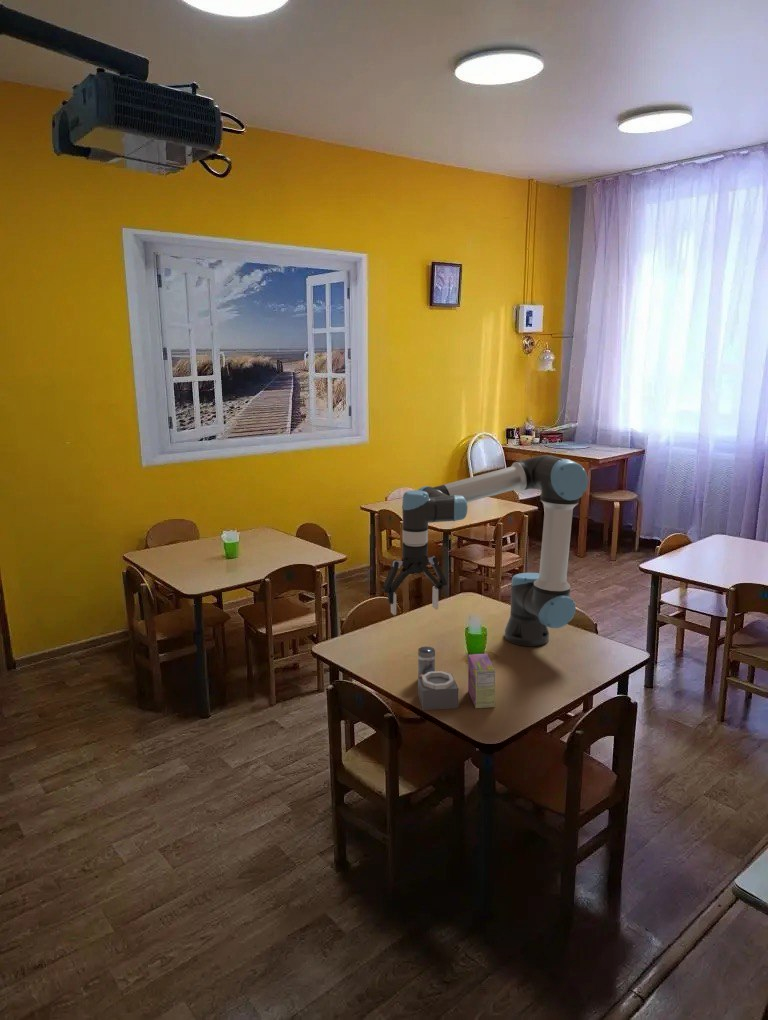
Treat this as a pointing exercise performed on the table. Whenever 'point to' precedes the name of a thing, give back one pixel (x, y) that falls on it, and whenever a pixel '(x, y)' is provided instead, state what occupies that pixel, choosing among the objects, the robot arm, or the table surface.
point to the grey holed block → (437, 691)
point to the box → (481, 680)
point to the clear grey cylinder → (426, 660)
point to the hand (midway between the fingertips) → (414, 610)
